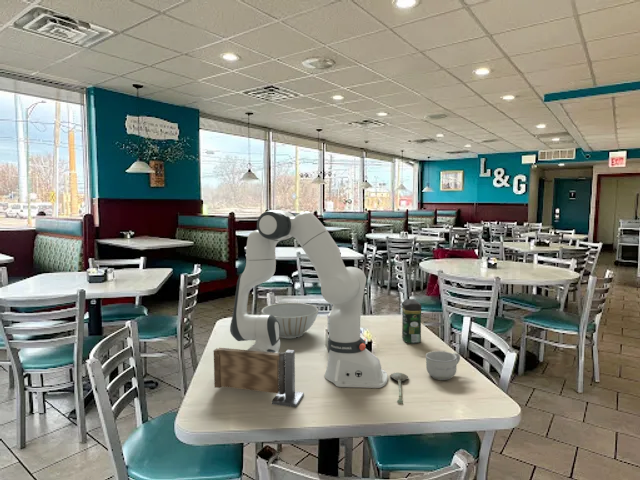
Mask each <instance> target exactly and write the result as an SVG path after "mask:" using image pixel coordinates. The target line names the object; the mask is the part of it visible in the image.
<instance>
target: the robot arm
mask: <svg viewBox="0 0 640 480" xmlns="http://www.w3.org/2000/svg"><path fill="white" fill-rule="evenodd" d="M293 238H294V239H295V240H296V241H297V242H298V244H299V245H300V247H301V248H302V250H303V252H304V253H305V255H306V256H307V258H308V260H309V261H310V262H311V265H313V266H312V267H313V268H314V270H315V272H316V275H317V277H318V280H319V283H320V292H321V293H320V294H321V296H322V297H323V299H324V300H325V301H326V302H327V303H329V304H331V305H332V307H331V311H330V312H331V313H330V312H329V313H330V317H329V338H328V337H327V353H328V358H327V363H326V364H327V365H326V370H325V372H324V377H325V379H326V380H327V381H329V382H331V383H333V384H334V385H335V386H336V387H337V388H365V389H366V388H367V389H371V388H372V389H379V388H382V387H384V386H385V385H386V384H387V383H388V379H389V377H388V371H386V370H384V369H382V364H381V361H380V359H379V358H378V356H376V355H375V354H374V353H372V352H371V351H370V350H368V349H367V348H366V345H367V341H366V338H364V339H363V338H362V337H361V315H362V310H363V309H362V307H363V302H364V294H365V287H366V284H367V278H366V277H367V276H366V274H365V272H364V271H363V270H362V269H361V268H358V267H354V266H346V265H345V263H344V260H343V258H342V256H341V250H340V247H339V246H338V245H337V242H336V241H335V240H334V239H333V237H332V235H331V234H330V232H329V231H328V230H327V228H326V227H325V226H324V224H323V223H322V222H321V220H319V219H318V218H317V216H316V215H315V214H314V213H313V212H310V211H303V212H299V213H298V214H295V213H293V212H291V211H285V210H283V209H282V210H281V209H269V210H267V211H264V212H263V213H261V214H260V215H259V216H258V218H257V221H256V229H255V230H253V231H251V232H250V233H249V234H248V236H247V240H246V248H245V250H246V251H245V252H246V253H245V254H246V255H245V258H246V259H245V267H244V270H243V272H242V273H239V275H238V279H237V282H236V289H235V296H234V297H235V298H234V305H233V313H232V317H231V321H230V326H229V333H230V334H231V336H232V337H233V339H235V340H236V341H237V342H245V341H246V342H247V341H255V343H253V345H251V346H250V347H248V349H247V350H250V351H261V352H271V353H280V352H279V351H280V348H281V340H280V338H281V337H280V325H279V322H278V321H277V319H276V318H275V317H274V316H273V315H262V314H248V311H247V309H248V301H249V294H250V291H251V290H252V289H253V288H254V287H257V286H258V285H261V284H263V283H266V282H268V281H269V280H271V278H272V277H273V276H274V274H275V272H276V268H277V267H276V265H277V260H276V246H277V244H278V243H282V242H285V241H287V240H291V239H293Z"/></svg>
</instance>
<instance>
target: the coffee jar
mask: <svg viewBox="0 0 640 480" xmlns="http://www.w3.org/2000/svg"><path fill="white" fill-rule="evenodd" d="M401 308H402V310H401V311H402V320H401V321H402V322H401V323H402V325H401V329H402V330H401V337H402V340H403V341H404V343H408V344H414V345H415V344H418V343H421V341H422V304H421V303H420V302H419V301H417V300H416V299H415V298H412V299H411V298H410V299H409V298H408V299H407V298H406V299H405V300H403V301H402V307H401Z"/></svg>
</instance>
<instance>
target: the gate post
mask: <svg viewBox="0 0 640 480" xmlns="http://www.w3.org/2000/svg"><path fill="white" fill-rule="evenodd" d="M295 351H296V350H294V349H287V350H286V351H285V352H284V353H285V394H279V392H278V393H276V395H275V396H274V397H273V399H272V401H271V405H275V406H276V405H277V406H285V407H290V406H291V408H297V407H298V405H299V404H300V402H301V400H302V399H303V398H304V396H305V394H304V392H301V391H296V371H295V370H296V368H295V367H296V364H295V363H296V360H295V359H296V358H295V357H296V355H295V353H296V352H295Z"/></svg>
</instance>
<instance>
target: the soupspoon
mask: <svg viewBox="0 0 640 480" xmlns="http://www.w3.org/2000/svg"><path fill="white" fill-rule="evenodd" d="M389 377H390V378H391V379H394V380H395V381H397V382H398V400H397V401H396V402H397V403H398V404H403V403H404V401H403V400H402V382H403V381H406V380H407V379H409V376H408V375H407V374H406V373H402V372H393V373H391V374H390V375H389Z"/></svg>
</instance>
